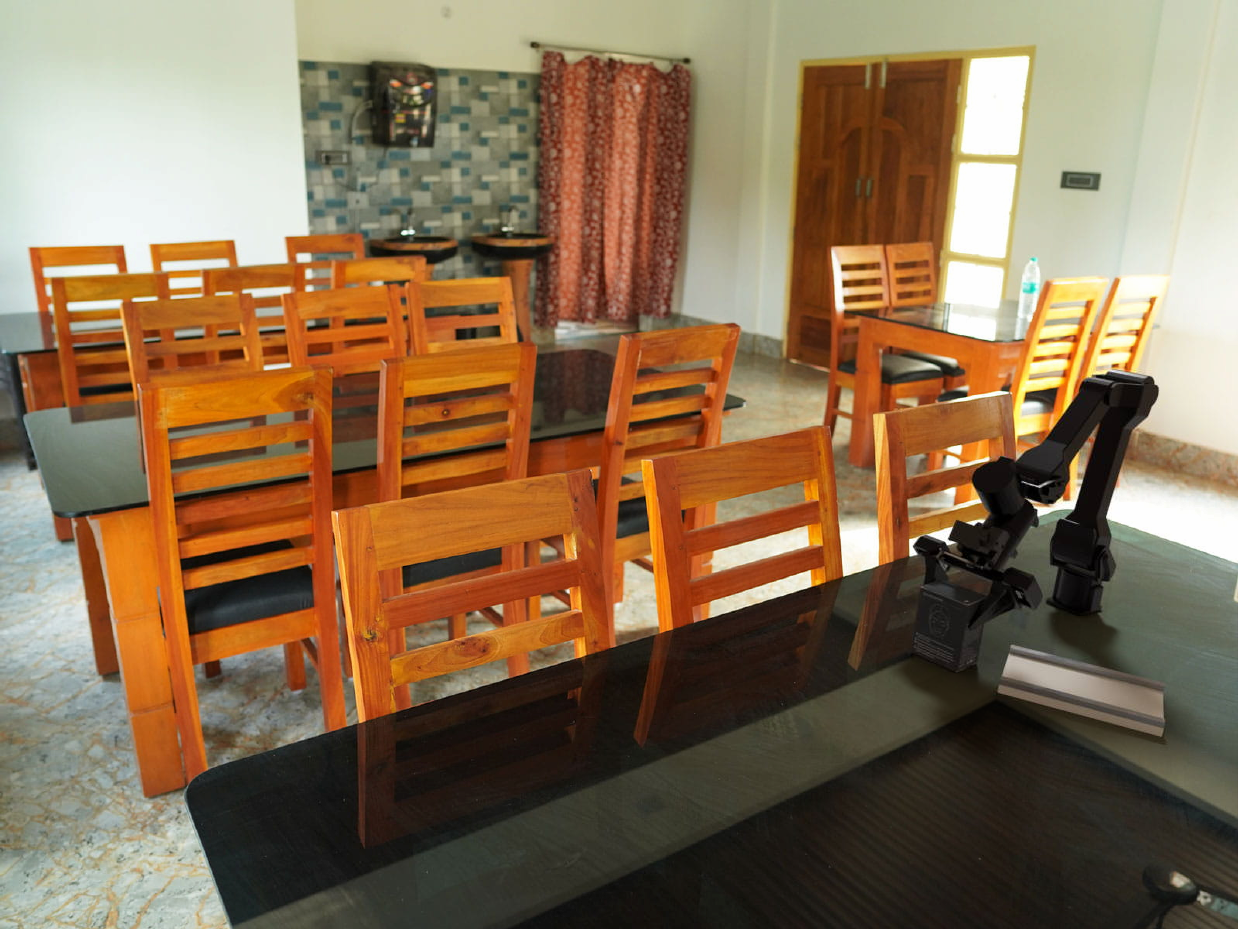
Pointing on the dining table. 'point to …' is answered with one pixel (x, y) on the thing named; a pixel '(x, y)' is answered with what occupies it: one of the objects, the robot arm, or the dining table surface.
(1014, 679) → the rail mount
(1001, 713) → the dining table surface
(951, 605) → the box
